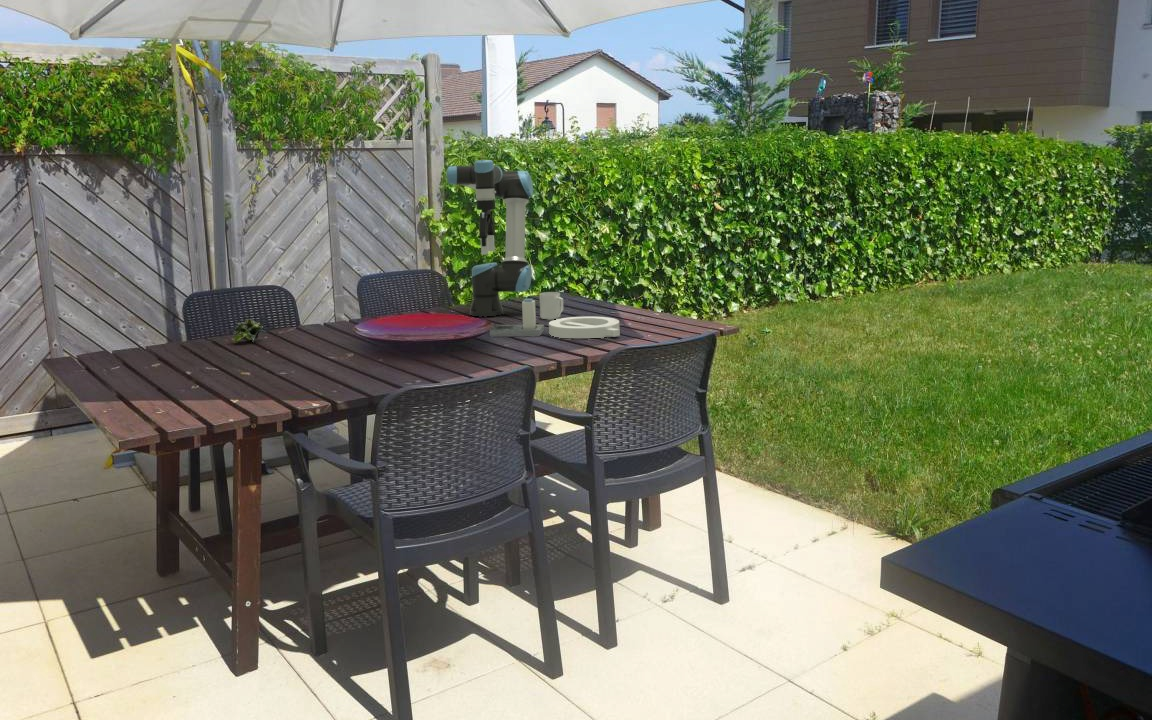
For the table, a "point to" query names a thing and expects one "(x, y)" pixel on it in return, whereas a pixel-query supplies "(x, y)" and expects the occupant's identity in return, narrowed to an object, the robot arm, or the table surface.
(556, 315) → the mug
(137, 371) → the table surface
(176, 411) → the table surface
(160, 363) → the table surface
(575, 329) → the white circle with bar
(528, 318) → the white tall block
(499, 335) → the panel
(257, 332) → the green leafy plant
